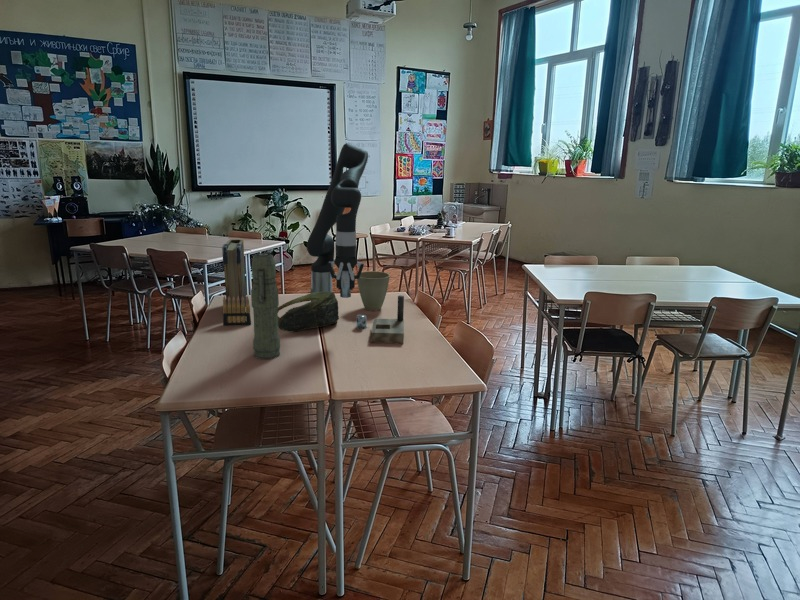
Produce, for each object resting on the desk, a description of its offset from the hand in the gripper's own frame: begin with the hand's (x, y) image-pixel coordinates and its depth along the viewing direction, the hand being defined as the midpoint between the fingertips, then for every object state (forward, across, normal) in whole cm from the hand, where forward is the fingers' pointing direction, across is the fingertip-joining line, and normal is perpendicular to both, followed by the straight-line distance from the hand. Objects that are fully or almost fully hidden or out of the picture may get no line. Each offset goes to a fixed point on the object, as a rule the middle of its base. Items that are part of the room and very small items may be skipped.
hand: (345, 289), depth 196 cm
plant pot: (+19, +8, +41) cm, 46 cm away
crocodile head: (+19, -17, +11) cm, 28 cm away
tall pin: (+3, 0, 0) cm, 3 cm away
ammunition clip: (+20, -45, +12) cm, 50 cm away
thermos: (+19, -25, -20) cm, 37 cm away
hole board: (+19, +16, +4) cm, 25 cm away
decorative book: (+20, -51, +33) cm, 64 cm away
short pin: (+19, +5, +13) cm, 24 cm away
